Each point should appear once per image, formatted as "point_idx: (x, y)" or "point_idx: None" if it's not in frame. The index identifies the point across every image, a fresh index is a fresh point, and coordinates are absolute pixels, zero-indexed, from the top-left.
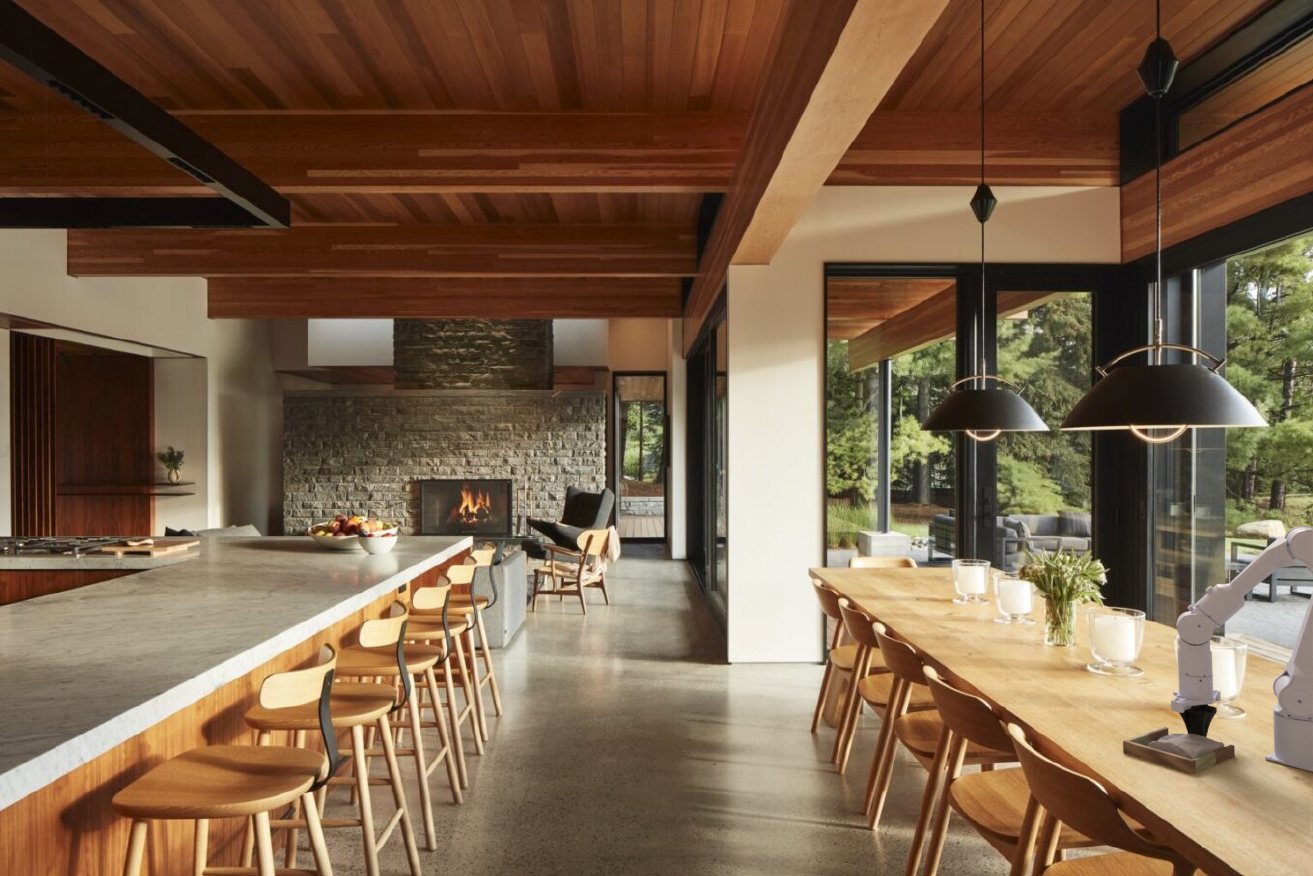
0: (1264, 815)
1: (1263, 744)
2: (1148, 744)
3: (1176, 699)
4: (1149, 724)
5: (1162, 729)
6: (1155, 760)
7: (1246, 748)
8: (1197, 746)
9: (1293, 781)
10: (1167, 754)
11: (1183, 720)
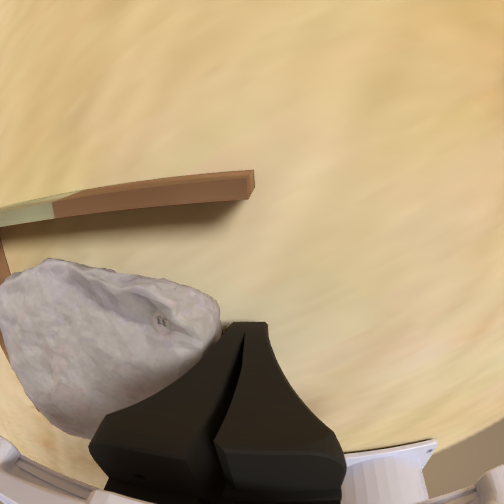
0: (62, 468)
1: (474, 390)
2: (6, 278)
3: (10, 495)
4: (400, 3)
5: (183, 199)
6: None
7: (402, 397)
8: (66, 431)
9: None
10: (8, 359)
11: (171, 384)
